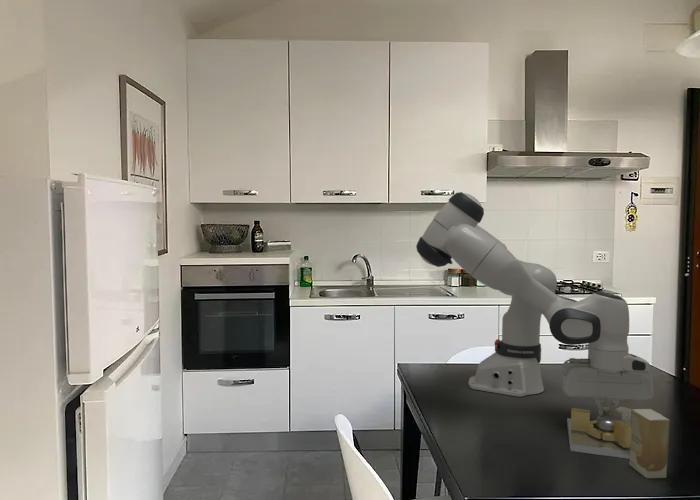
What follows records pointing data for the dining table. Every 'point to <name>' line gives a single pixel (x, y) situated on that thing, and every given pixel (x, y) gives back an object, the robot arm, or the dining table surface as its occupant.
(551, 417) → the dining table surface
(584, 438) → the housing
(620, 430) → the ring nut
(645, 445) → the skincare box
